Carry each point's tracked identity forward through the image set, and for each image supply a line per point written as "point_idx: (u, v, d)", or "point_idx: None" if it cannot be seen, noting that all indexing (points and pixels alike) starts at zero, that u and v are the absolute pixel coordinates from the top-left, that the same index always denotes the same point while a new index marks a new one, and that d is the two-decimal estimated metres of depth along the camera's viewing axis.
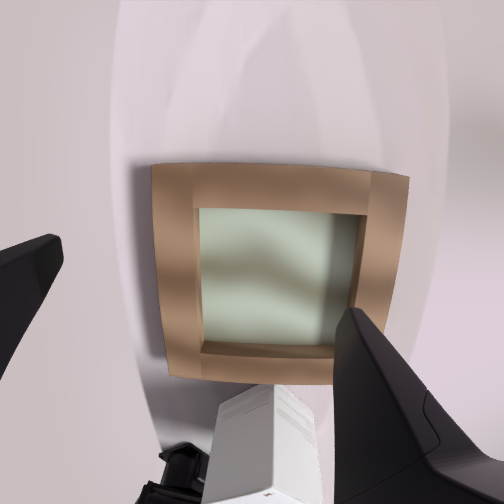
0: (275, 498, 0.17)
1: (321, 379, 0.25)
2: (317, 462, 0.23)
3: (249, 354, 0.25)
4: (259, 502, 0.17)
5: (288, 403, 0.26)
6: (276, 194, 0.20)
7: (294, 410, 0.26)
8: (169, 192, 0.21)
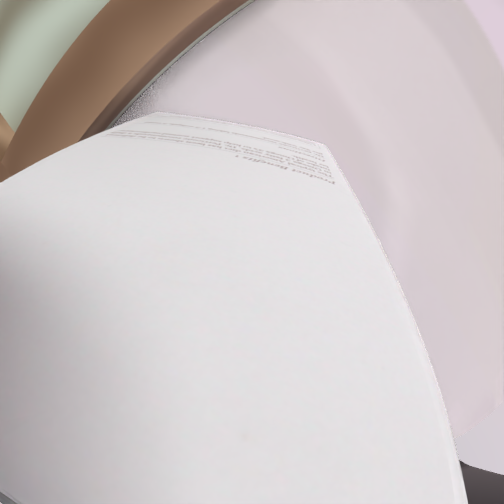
0: None
1: (185, 5, 0.07)
2: (353, 219, 0.05)
3: (42, 92, 0.09)
4: None
5: (187, 124, 0.09)
6: None
7: (212, 129, 0.09)
8: None
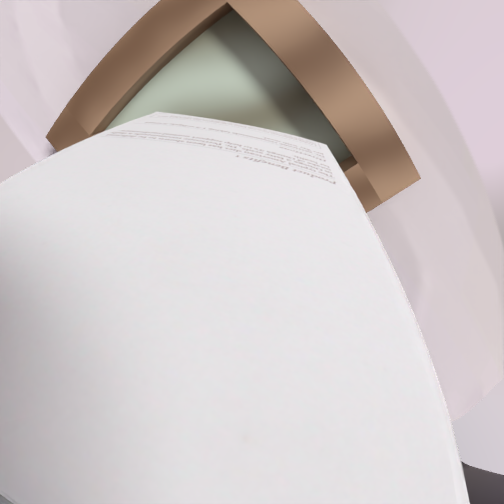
0: None
1: None
2: (354, 219, 0.05)
3: None
4: None
5: (188, 124, 0.09)
6: (133, 62, 0.15)
7: (213, 129, 0.09)
8: (68, 141, 0.18)
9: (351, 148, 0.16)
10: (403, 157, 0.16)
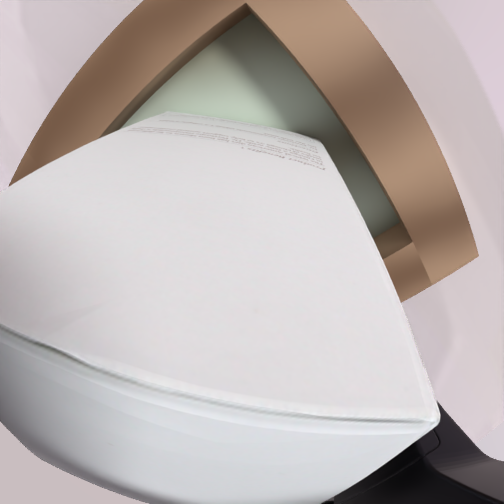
0: None
1: (401, 292, 0.14)
2: (338, 195, 0.07)
3: None
4: (10, 409, 0.03)
5: (197, 122, 0.11)
6: (108, 92, 0.11)
7: (219, 126, 0.10)
8: None
9: (407, 224, 0.12)
10: (465, 233, 0.12)
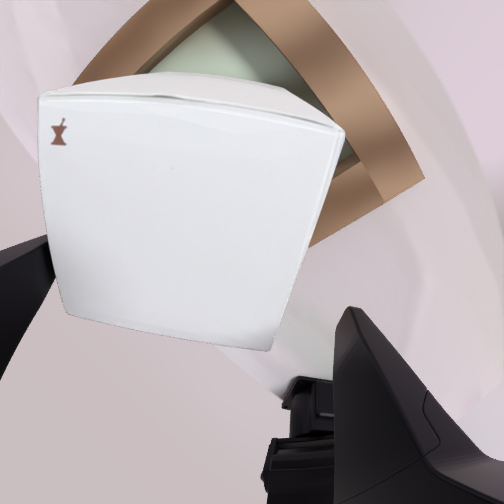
0: (91, 136, 0.06)
1: (358, 208, 0.18)
2: (292, 96, 0.10)
3: None
4: (87, 191, 0.07)
5: (195, 73, 0.14)
6: (131, 55, 0.14)
7: (211, 75, 0.14)
8: None
9: (354, 146, 0.16)
10: (407, 156, 0.16)
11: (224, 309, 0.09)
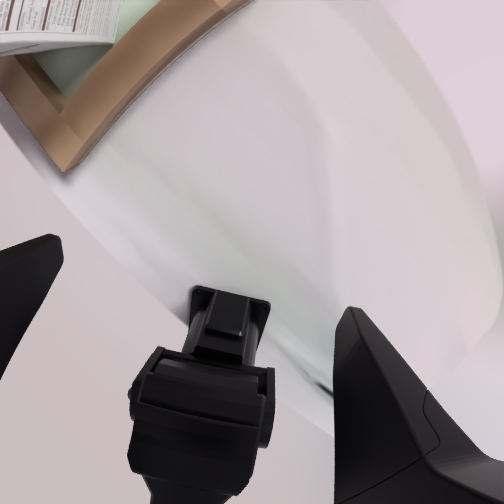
0: None
1: (191, 19, 0.13)
2: None
3: (97, 68, 0.15)
4: None
5: None
6: None
7: None
8: None
9: None
10: None
11: None
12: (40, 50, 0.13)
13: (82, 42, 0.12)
